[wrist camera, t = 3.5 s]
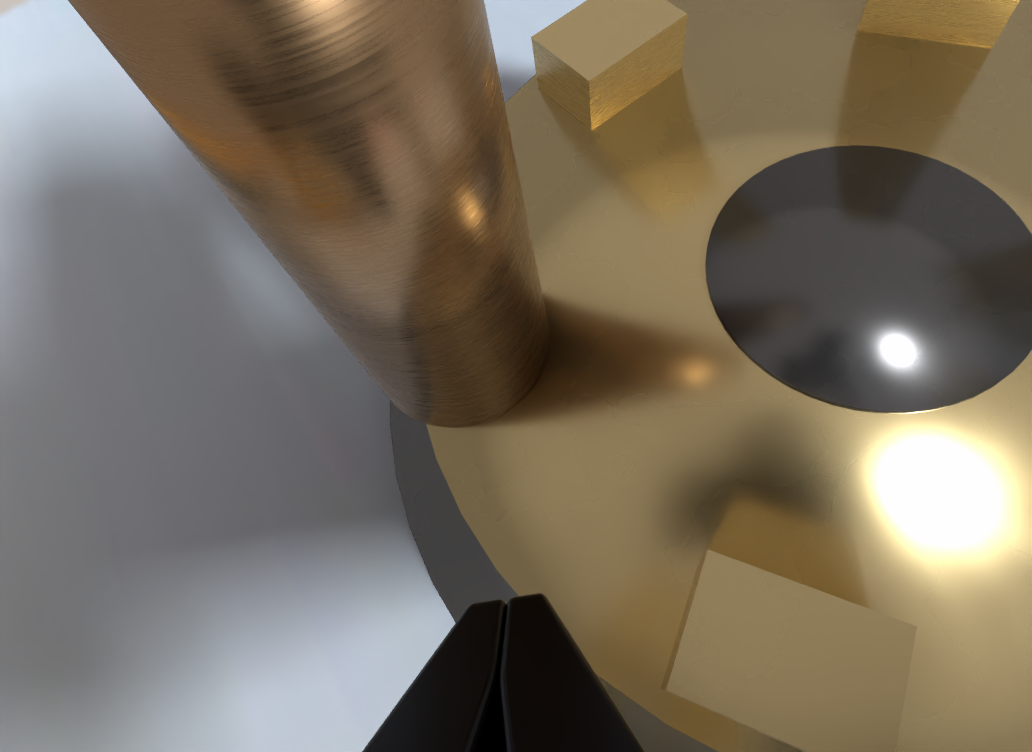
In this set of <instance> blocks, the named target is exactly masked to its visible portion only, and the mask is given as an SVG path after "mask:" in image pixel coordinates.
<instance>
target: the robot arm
mask: <svg viewBox="0 0 1032 752" xmlns="http://www.w3.org/2000/svg"><path fill="white" fill-rule="evenodd" d="M362 752H646V751H645V750H644V748H643V747H642V745H641V743H640V742H639V740H638V739H637V737H636V736H635V734H634V733H633V731H632V729H631V728H630V726H629V725H628V723H627V722H626V720H625V719H624V717H623V715H622V714H621V712H620V711H619V709H618V708H617V706H616V704H615V703H614V701H613V700H612V698H611V697H610V695H609V694H608V692H607V690H606V689H605V687H604V686H603V684H602V683H601V681H600V679H599V678H598V676H597V675H596V673H595V672H594V670H593V669H592V667H591V665H590V664H589V662H588V661H587V659H586V658H585V656H584V655H583V653H582V651H581V650H580V648H579V647H578V645H577V644H576V642H575V640H574V639H573V637H572V636H571V634H570V633H569V631H568V630H567V628H566V626H565V625H564V623H563V622H562V620H561V619H560V617H559V616H558V614H557V612H556V611H555V609H554V608H553V606H552V605H551V603H550V601H549V600H548V598H547V597H546V596H545V595H544V594H542V593H536V594H529V595H523V596H516V597H512V598H511V599H510V600H509V601H508V603H507V602H506V601H505V600H503V599H497V600H491V601H484V602H478V603H473V604H471V605H470V606H468V607H467V609H466V610H465V611H464V613H463V614H462V615H461V617H460V618H459V620H458V621H457V622H456V624H455V625H454V626H453V628H452V629H451V631H450V632H449V633H448V635H447V636H446V637H445V639H444V640H443V642H442V643H441V644H440V646H439V647H438V648H437V650H436V651H435V652H434V654H433V655H432V657H431V658H430V659H429V661H428V662H427V663H426V665H425V666H424V668H423V669H422V670H421V672H420V673H419V674H418V676H417V677H416V679H415V680H414V681H413V683H412V684H411V685H410V687H409V688H408V690H407V691H406V692H405V694H404V695H403V696H402V698H401V699H400V701H399V702H398V703H397V705H396V706H395V707H394V709H393V710H392V712H391V713H390V714H389V716H388V717H387V718H386V720H385V721H384V722H383V724H382V725H381V727H380V728H379V729H378V731H377V732H376V733H375V735H374V736H373V738H372V739H371V740H370V742H369V743H368V744H367V746H366V747H365V749H364V750H363V751H362Z"/></svg>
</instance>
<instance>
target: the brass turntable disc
mask: <svg viewBox="0 0 1032 752" xmlns="http://www.w3.org/2000/svg"><path fill="white" fill-rule="evenodd" d="M68 1H69V2H70V3H71V5H72V6H73V7H74V8H75V10H76V11H77V12H78V13H79V15H80V16H81V17H82V18H83V20H84V21H85V22H86V23H87V24H88V26H89V27H90V28H91V29H92V31H93V32H94V33H95V34H96V36H97V37H98V38H99V39H100V41H101V42H102V43H103V44H104V46H105V47H106V48H107V49H108V51H109V52H110V53H111V54H112V55H113V57H114V58H115V59H116V60H117V62H118V63H119V64H120V65H121V67H122V68H123V69H124V70H125V72H126V73H127V74H128V75H129V77H130V78H131V79H132V80H133V82H134V83H135V84H136V85H137V87H138V88H139V89H140V90H141V91H142V93H143V94H144V95H145V96H146V98H147V99H148V100H149V101H150V103H151V104H152V105H153V106H154V108H155V109H156V110H157V111H158V113H159V114H160V115H161V116H162V118H163V119H164V120H165V121H166V122H167V124H168V125H169V126H170V127H171V129H172V130H173V131H174V132H175V134H176V135H177V136H178V137H179V139H180V140H181V141H182V142H183V144H184V145H185V146H186V147H187V149H188V150H189V151H190V152H191V153H192V155H193V156H194V157H195V158H196V160H197V161H198V162H199V163H200V165H201V166H202V167H203V168H204V170H205V171H206V172H207V173H208V175H209V176H210V177H211V178H212V180H213V181H214V182H215V183H216V184H217V186H218V187H219V188H220V189H221V191H222V192H223V193H224V194H225V196H226V197H227V198H228V199H229V201H230V202H231V203H232V204H233V206H234V207H235V208H236V209H237V211H238V212H239V213H240V214H241V215H242V217H243V218H244V219H245V220H246V222H247V223H248V224H249V225H250V227H251V228H252V229H253V230H254V232H255V233H256V234H257V235H258V237H259V238H260V239H261V240H262V242H263V243H264V244H265V245H266V247H267V248H268V249H269V250H270V251H271V253H272V254H273V255H274V256H275V258H276V259H277V260H278V261H279V263H280V264H281V265H282V266H283V268H284V269H285V270H286V271H287V273H288V274H289V275H290V276H291V278H292V279H293V280H294V281H295V282H296V284H297V285H298V286H299V287H300V289H301V290H302V291H303V292H304V294H305V295H306V296H307V297H308V299H309V300H310V301H311V302H312V304H313V305H314V306H315V307H316V309H317V310H318V311H319V312H320V313H321V315H322V316H323V317H324V318H325V320H326V321H327V322H328V323H329V325H330V326H331V327H332V328H333V330H334V331H335V332H336V333H337V335H338V336H339V337H340V338H341V340H342V341H343V342H344V343H345V344H346V346H347V347H348V348H349V349H350V351H351V352H352V353H353V354H354V356H355V357H356V358H357V359H358V361H359V362H360V363H361V364H362V366H363V367H364V368H365V369H366V371H367V372H368V373H369V374H370V375H371V377H372V378H373V379H374V380H375V382H376V383H377V384H378V385H379V387H380V388H381V389H382V390H383V392H384V393H385V394H386V395H387V397H388V398H389V399H390V400H391V401H392V402H393V404H394V405H395V406H396V407H398V408H399V409H400V410H401V411H402V412H404V413H405V414H407V415H408V416H410V417H412V418H413V419H416V420H418V421H420V422H423V423H426V425H427V429H428V432H429V436H430V439H431V442H432V446H433V449H434V453H435V456H436V459H437V461H438V464H439V466H440V468H441V470H442V472H443V475H444V477H445V479H446V481H447V483H448V486H449V488H450V490H451V492H452V494H453V497H454V499H455V501H456V503H457V505H458V508H459V510H460V512H461V514H462V516H463V517H464V519H465V521H466V522H467V524H468V525H469V527H470V528H471V530H472V532H473V533H474V535H475V536H476V538H477V539H478V541H479V543H480V544H481V546H482V547H483V549H484V551H485V552H486V554H487V555H488V557H489V558H490V560H491V562H492V563H493V565H494V566H495V568H496V570H497V571H498V572H499V573H500V574H501V576H502V577H503V578H504V579H505V580H506V581H507V583H508V584H509V585H510V586H511V587H512V589H513V590H514V591H515V592H516V593H517V595H518V596H523V595H529V594H536V593H542V594H544V595H545V596H546V597H547V598H548V600H549V601H550V603H551V605H552V606H553V608H554V609H555V611H556V612H557V614H558V616H559V617H560V619H561V620H562V622H563V623H564V625H565V626H566V628H567V630H568V631H569V633H570V634H571V636H572V637H573V639H574V640H575V642H576V644H577V645H578V647H579V648H580V650H581V651H582V653H583V655H584V656H585V658H586V659H587V661H588V662H589V664H590V665H591V667H592V669H593V670H594V672H595V673H596V674H597V675H598V676H599V677H601V678H602V679H604V680H605V681H606V682H608V683H609V684H611V685H612V686H613V687H615V688H616V689H618V690H619V691H620V692H622V693H623V694H625V695H626V696H628V697H629V698H630V699H632V700H633V701H635V702H636V703H637V704H639V705H640V706H642V707H643V708H644V709H646V710H647V711H649V712H650V713H652V714H653V715H654V716H656V717H657V718H659V719H660V720H661V721H663V722H664V723H666V724H667V725H669V726H671V727H673V728H675V729H677V730H679V731H680V732H682V733H684V734H686V735H688V736H690V737H692V738H694V739H695V740H697V741H699V742H701V743H703V744H705V745H707V746H709V747H710V748H712V749H714V750H716V751H718V752H1032V0H587V1H585V2H584V3H582V4H581V5H579V6H578V7H576V8H575V9H573V10H572V11H570V12H569V13H567V14H566V15H564V16H563V17H561V18H560V19H558V20H557V21H555V22H554V23H552V24H551V25H549V26H548V27H546V28H544V29H543V30H541V31H540V32H538V33H537V34H535V35H534V36H532V37H531V39H532V46H533V53H534V60H535V68H536V74H535V75H534V76H533V77H532V78H531V79H530V80H529V81H528V82H527V83H526V84H525V85H524V86H523V87H522V88H520V89H519V90H518V91H517V92H516V93H515V94H514V95H513V96H512V97H511V98H510V99H509V100H508V101H507V102H506V103H505V104H504V99H503V94H502V89H501V84H500V79H499V74H498V69H497V64H496V59H495V54H494V49H493V44H492V39H491V34H490V29H489V24H488V19H487V14H486V9H485V4H484V0H68Z"/></svg>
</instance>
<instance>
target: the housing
mask: <svg viewBox="0 0 1032 752" xmlns="http://www.w3.org/2000/svg"><path fill="white" fill-rule="evenodd" d="M390 426H391V435H392V444H393V452H394V461H395V470H396V475H397V479H398V483H399V487H400V491H401V495H402V499H403V502H404V506H405V510H406V514H407V518H408V522H409V526H410V529H411V531H412V534H413V536H414V538H415V541H416V543H417V546H418V548H419V551H420V553H421V556H422V558H423V560H424V563H425V565H426V568H427V570H428V573H429V575H430V577H431V580H432V582H433V584H434V586H435V588H436V590H437V591H438V593H439V595H440V596H441V598H442V600H443V602H444V603H445V605H446V607H447V609H448V610H449V612H450V614H451V615H452V617H453V619H454V621H455V622H457V621H458V620H459V618H460V617H461V615H462V614H463V613H464V611H465V610H466V609H467V607H468V606H470V605H471V604H473V603H478V602H484V601H491V600H497V599H503V600H505V601H506V602H507V603H508V601H509V600H510V599H511V598H512V597H516V596H518V595H517V593H516V592H515V591H514V590H513V589H512V587H511V586H510V585H509V584H508V583H507V581H506V580H505V579H504V578H503V577H502V576H501V574H500V573H499V572H498V571H497V570H496V568H495V566H494V565H493V563H492V562H491V560H490V558H489V557H488V555H487V554H486V552H485V551H484V549H483V547H482V546H481V544H480V543H479V541H478V539H477V538H476V536H475V535H474V533H473V532H472V530H471V528H470V527H469V525H468V524H467V522H466V521H465V519H464V517H463V516H462V514H461V512H460V510H459V508H458V505H457V503H456V501H455V499H454V497H453V494H452V492H451V490H450V488H449V486H448V483H447V481H446V479H445V477H444V475H443V472H442V470H441V468H440V466H439V464H438V461H437V459H436V456H435V453H434V449H433V446H432V442H431V439H430V436H429V432H428V429H427V425H426V423H423V422H420V421H418V420H416V419H413V418H412V417H410V416H408V415H407V414H405V413H404V412H402V411H401V410H400V409H399V408H398V407H396V406H395V405H394V404H393V402H392V401H391V400H390ZM596 675H597V674H596ZM597 676H598V675H597ZM598 678H599V679H600V681H601V683H602V684H603V686H604V687H605V689H606V690H607V692H608V694H609V695H610V697H611V698H612V700H613V701H614V703H615V704H616V706H617V708H618V709H619V711H620V712H621V714H622V715H623V717H624V719H625V720H626V722H627V723H628V725H629V726H630V728H631V729H632V731H633V733H634V734H635V736H636V737H637V739H638V740H639V742H640V743H641V745H642V747H643V748H644V750H645V751H646V752H718V751H716V750H714V749H712V748H710V747H709V746H707V745H705V744H703V743H701V742H699V741H697V740H695V739H694V738H692V737H690V736H688V735H686V734H684V733H682V732H680V731H679V730H677V729H675V728H673V727H671V726H669V725H667V724H666V723H664V722H663V721H661V720H660V719H659V718H657V717H656V716H654V715H653V714H652V713H650V712H649V711H647V710H646V709H644V708H643V707H642V706H640V705H639V704H637V703H636V702H635V701H633V700H632V699H630V698H629V697H628V696H626V695H625V694H623V693H622V692H620V691H619V690H618V689H616V688H615V687H613V686H612V685H611V684H609V683H608V682H606V681H605V680H604V679H602V678H601V677H599V676H598Z"/></svg>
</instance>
